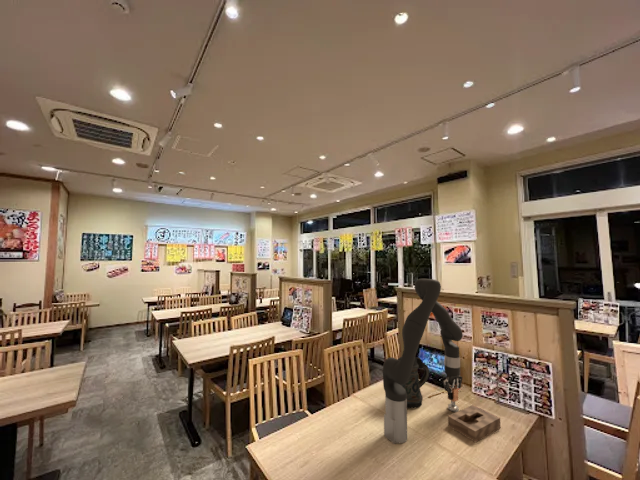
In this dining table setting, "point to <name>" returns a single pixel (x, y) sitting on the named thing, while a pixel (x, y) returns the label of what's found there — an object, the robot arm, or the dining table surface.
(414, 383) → the beer stein
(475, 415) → the keyhole plate
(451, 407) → the t peg
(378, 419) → the dining table surface
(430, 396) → the axe
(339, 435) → the dining table surface
